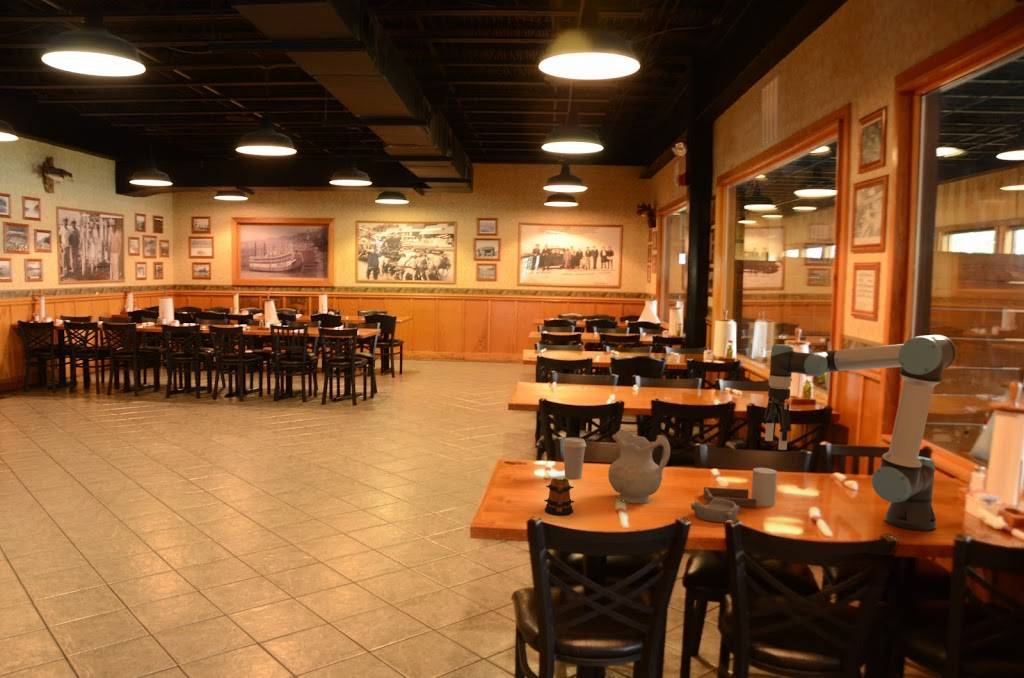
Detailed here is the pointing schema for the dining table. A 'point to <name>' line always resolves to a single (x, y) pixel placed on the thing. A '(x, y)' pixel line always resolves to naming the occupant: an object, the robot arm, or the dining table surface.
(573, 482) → the dining table surface
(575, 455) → the coffee cup
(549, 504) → the brown tiered piece
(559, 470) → the dining table surface
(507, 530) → the dining table surface
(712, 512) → the dish
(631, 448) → the ceramic pitcher
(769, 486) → the cup
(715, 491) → the u rest
